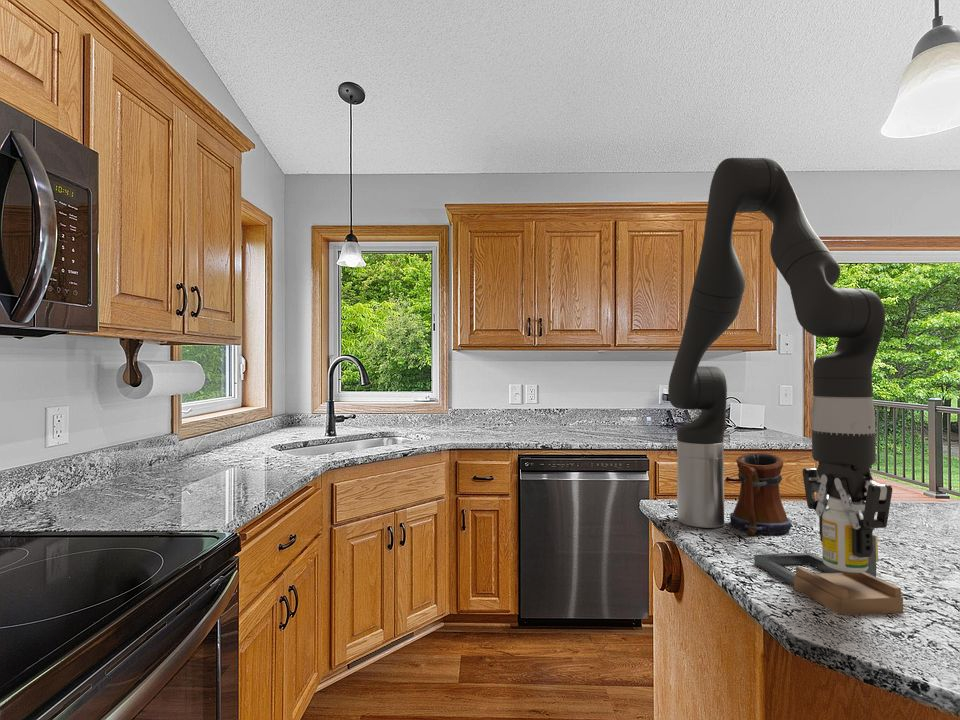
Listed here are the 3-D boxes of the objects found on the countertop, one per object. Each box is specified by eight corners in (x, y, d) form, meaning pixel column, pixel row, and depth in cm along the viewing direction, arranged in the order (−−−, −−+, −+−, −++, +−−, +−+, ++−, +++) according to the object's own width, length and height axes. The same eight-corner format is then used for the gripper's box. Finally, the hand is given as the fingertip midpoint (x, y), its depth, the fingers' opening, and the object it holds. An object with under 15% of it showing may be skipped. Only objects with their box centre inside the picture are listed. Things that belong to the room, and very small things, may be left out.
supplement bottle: (818, 567, 77) (817, 498, 77) (827, 557, 81) (825, 492, 81) (865, 576, 73) (863, 504, 73) (871, 566, 77) (870, 498, 77)
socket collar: (754, 564, 91) (754, 554, 91) (810, 561, 92) (809, 552, 92) (795, 587, 81) (794, 577, 81) (857, 584, 82) (856, 574, 83)
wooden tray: (794, 588, 81) (794, 566, 81) (850, 586, 82) (850, 564, 82) (840, 615, 72) (840, 590, 72) (903, 612, 73) (902, 588, 73)
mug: (778, 547, 100) (777, 465, 100) (712, 536, 107) (712, 459, 108) (796, 526, 114) (795, 454, 114) (737, 517, 121) (736, 449, 121)
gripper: (912, 434, 71) (914, 566, 70) (829, 424, 85) (831, 533, 85) (858, 434, 70) (861, 568, 69) (784, 424, 84) (786, 535, 84)
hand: (844, 548), depth 77 cm, fingers closed on supplement bottle, 5 cm apart
